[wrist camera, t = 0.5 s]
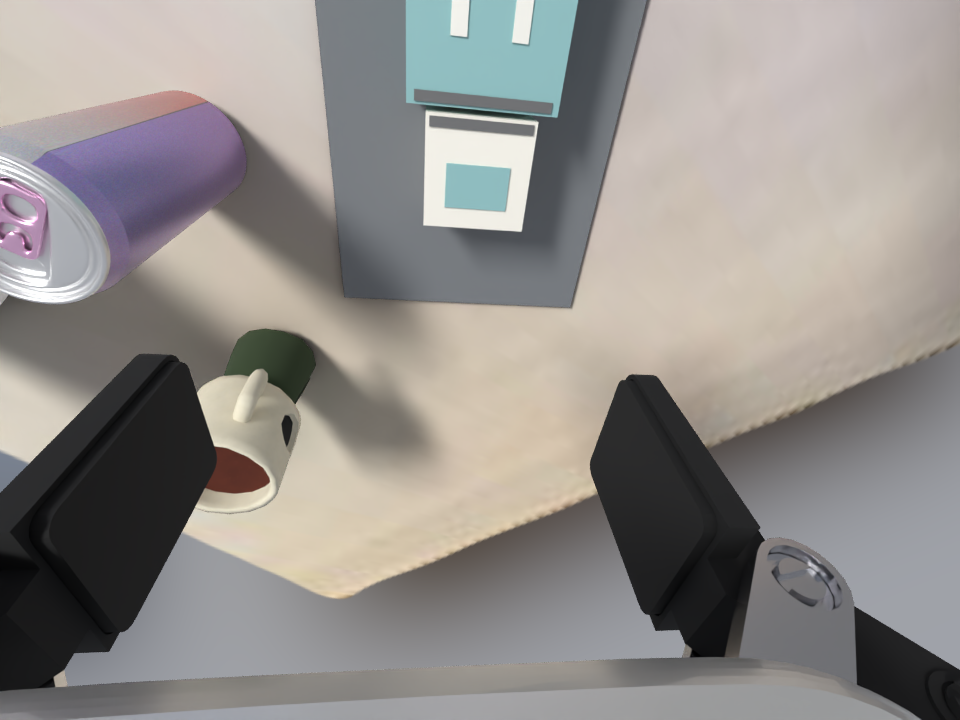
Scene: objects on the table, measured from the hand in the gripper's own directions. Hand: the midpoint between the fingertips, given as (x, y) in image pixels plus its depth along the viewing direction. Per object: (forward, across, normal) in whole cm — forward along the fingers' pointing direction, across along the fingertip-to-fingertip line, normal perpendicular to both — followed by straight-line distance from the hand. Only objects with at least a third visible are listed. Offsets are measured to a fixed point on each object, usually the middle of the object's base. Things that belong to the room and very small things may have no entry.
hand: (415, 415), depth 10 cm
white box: (+23, -3, -2) cm, 23 cm away
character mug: (+24, +12, +15) cm, 31 cm away
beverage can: (+24, +14, 0) cm, 28 cm away
